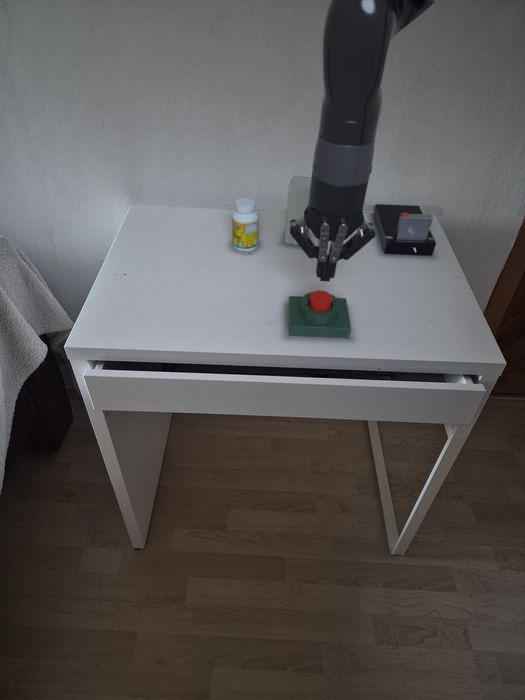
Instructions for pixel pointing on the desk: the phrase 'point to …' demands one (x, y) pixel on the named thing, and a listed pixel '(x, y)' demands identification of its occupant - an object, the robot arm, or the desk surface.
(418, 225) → the grey and red bar
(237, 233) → the supplement bottle
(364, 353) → the desk surface
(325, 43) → the robot arm
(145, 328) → the desk surface
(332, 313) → the button box
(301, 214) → the box
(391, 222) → the black rectangular base
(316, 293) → the button
